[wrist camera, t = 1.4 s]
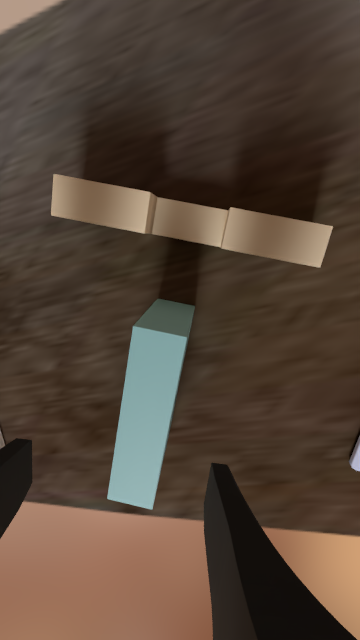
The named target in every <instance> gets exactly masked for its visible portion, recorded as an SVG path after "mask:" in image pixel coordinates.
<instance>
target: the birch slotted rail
mask: <svg viewBox="0 0 360 640" xmlns="http://www.w3.org/2000/svg"><path fill="white" fill-rule="evenodd" d="M51 215H52V216H57V217H62V218H68V219H73V220H78V221H83V222H88V223H93V224H98V225H104V226H109V227H114V228H119V229H124V230H129V231H134V232H139V233H145V234H155V235H161V236H166V237H171V238H176V239H181V240H186V241H191V242H196V243H202V244H207V245H212V246H217V247H221V249H227V250H232V251H237V252H242V253H247V254H252V255H257V256H262V257H268V258H273V259H278V260H283V261H288V262H293V263H298V264H303V265H309V266H314V267H319V268H320V267H321V264H322V260H323V257H324V254H325V251H326V248H327V244H328V241H329V238H330V235H331V231H332V228H333V226H328V225H322V224H317V223H312V222H306V221H301V220H296V219H291V218H285V217H280V216H275V215H269V214H264V213H259V212H253V211H248V210H243V209H237V208H232V207H230V209H229V210H223V209H218V208H212V207H207V206H202V205H197V204H191V203H186V202H181V201H175V200H170V199H165V198H159V197H157V196H155V195H154V194H152V193H151V192H147V191H142V190H136V189H131V188H126V187H120V186H115V185H110V184H104V183H99V182H94V181H88V180H83V179H78V178H73V177H67V176H62V175H57V174H54V177H53V192H52V208H51Z"/></svg>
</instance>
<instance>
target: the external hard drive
mask: <svg viewBox="0 0 360 640" xmlns="http://www.w3.org/2000/svg"><path fill="white" fill-rule="evenodd" d="M4 446H5V443H4V440H3V436H2V433H1V430H0V449H1V448H2V447H4Z"/></svg>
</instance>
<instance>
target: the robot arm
mask: <svg viewBox="0 0 360 640" xmlns="http://www.w3.org/2000/svg"><path fill="white" fill-rule="evenodd" d="M349 462H350V465H351V467H352V468H353V469H355V470H357V471H360V436H359V438H358V441H357V443H356V446H355V448H354V451H353V453H352V456H351V458H350V461H349ZM31 484H32V440H26V439H18V438H16V439H15V440H13V441H12V442H10V443H8V444H7V445H5V446H4V447H2V448H1V449H0V538H1V537H2V535H3V534H4V532H5V530H6V529H7V527H8V526H9V524H10V523H11V521H12V519H13V518H14V516H15V515H16V513H17V512H18V510H19V508H20V506H21V504H22V502H23V500H24V498H25V496H26V494H27V492H28V490H29V488H30V486H31ZM204 535H205V545H206V555H207V565H208V574H209V584H210V593H211V604H212V620H213V640H357V639H356V638H355V637H354V636H353V635H352V634H351V633H350V632H348V631H347V630H346V629H345V628H344V627H343V626H342V625H341V624H340V623H339V622H338V621H337V620H336V619H335V618H334V617H333V616H332V615H331V614H330V613H329V612H328V611H327V610H326V608H325V607H324V606H323V605H322V604H321V603H320V602H319V601H318V600H317V599H316V598H315V597H314V596H313V594H312V593H311V592H310V591H309V590H308V589H307V587H306V586H305V585H304V584H303V583H302V582H301V581H300V579H299V578H298V577H297V576H296V575H295V573H294V572H293V571H292V570H291V568H290V567H289V566H288V565H287V563H286V562H285V561H284V559H283V558H282V557H281V555H280V554H279V553H278V551H277V550H276V549H275V547H274V546H273V544H272V543H271V541H270V540H269V538H268V537H267V535H266V534H265V532H264V531H263V529H262V528H261V526H260V525H259V523H258V521H257V520H256V518H255V516H254V515H253V513H252V511H251V510H250V508H249V506H248V504H247V503H246V501H245V499H244V497H243V495H242V494H241V492H240V490H239V488H238V486H237V484H236V482H235V480H234V478H233V476H232V473H231V471H230V469H229V467H228V466H227V465H225V464H217V463H211V468H210V474H209V479H208V485H207V490H206V496H205V501H204Z"/></svg>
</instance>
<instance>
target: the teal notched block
mask: <svg viewBox="0 0 360 640" xmlns="http://www.w3.org/2000/svg"><path fill="white" fill-rule="evenodd" d="M194 309H195V306H192V305H188V304H183V303H178V302H173V301H168V300H163V299H157V300H156V301H155V302H154V303H153V304H152V305H151V307H150V308H149V309H148V310H147V311H146V312H145V313H144V314H143V316H142V317H141V318H140V319H139V320H138V321H137V322H136V323H135V325H134V326H133V331H132V338H131V344H130V351H129V358H128V364H127V371H126V378H125V384H124V391H123V398H122V404H121V411H120V418H119V424H118V431H117V438H116V444H115V451H114V458H113V464H112V471H111V478H110V484H109V491H108V498H107V499H110V500H114V501H118V502H122V503H127V504H131V505H135V506H139V507H143V508H147V509H152V508H153V504H154V499H155V495H156V490H157V485H158V481H159V476H160V472H161V467H162V463H163V458H164V454H165V449H166V445H167V440H168V436H169V431H170V426H171V421H172V417H173V412H174V407H175V402H176V396H177V391H178V386H179V381H180V376H181V371H182V366H183V361H184V357H185V353H186V348H187V343H188V338H189V334H190V329H191V324H192V319H193V314H194Z"/></svg>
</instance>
